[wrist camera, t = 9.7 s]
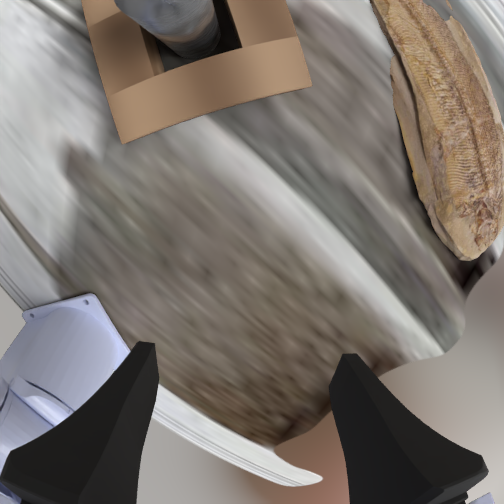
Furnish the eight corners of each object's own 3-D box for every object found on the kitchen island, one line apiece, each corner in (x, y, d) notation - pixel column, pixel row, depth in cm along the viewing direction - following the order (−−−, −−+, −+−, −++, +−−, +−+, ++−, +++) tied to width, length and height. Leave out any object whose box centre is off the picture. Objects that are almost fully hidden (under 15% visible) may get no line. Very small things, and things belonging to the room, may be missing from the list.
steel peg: (176, 65, 15) (122, 33, 7) (163, 24, 14) (105, -32, 6) (226, 49, 15) (214, -1, 7) (212, 7, 14) (191, -65, 6)
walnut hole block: (139, 138, 17) (122, 144, 14) (100, 4, 13) (79, -8, 10) (301, 89, 16) (312, 86, 13) (254, -47, 12) (257, -69, 9)
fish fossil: (297, -38, 12) (302, -46, 11) (406, -58, 11) (413, -64, 10) (447, 274, 22) (455, 280, 21) (517, 216, 21) (525, 220, 20)
